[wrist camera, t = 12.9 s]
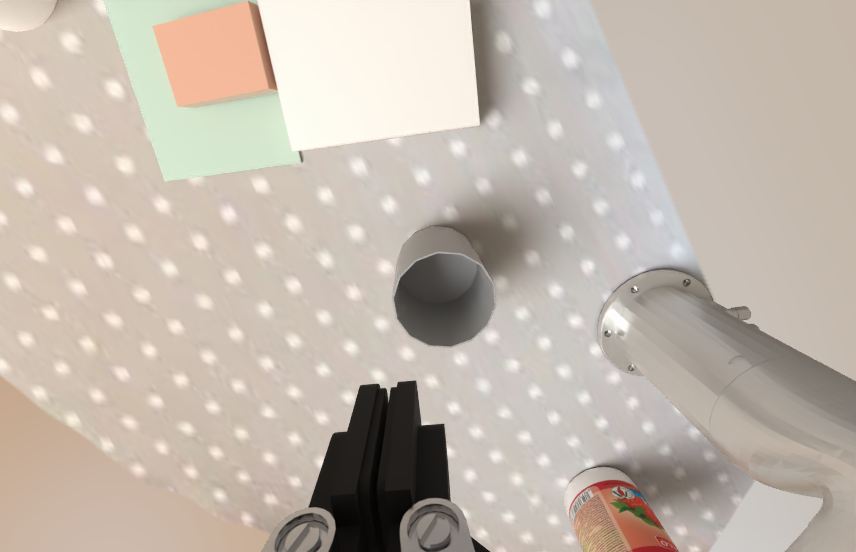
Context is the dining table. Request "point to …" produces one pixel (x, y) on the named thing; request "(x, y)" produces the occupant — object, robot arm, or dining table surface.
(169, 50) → the tile
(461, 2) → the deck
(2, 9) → the cylinder with rectangular tab
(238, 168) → the mat
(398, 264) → the cup
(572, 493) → the fruit juice
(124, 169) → the dining table surface
